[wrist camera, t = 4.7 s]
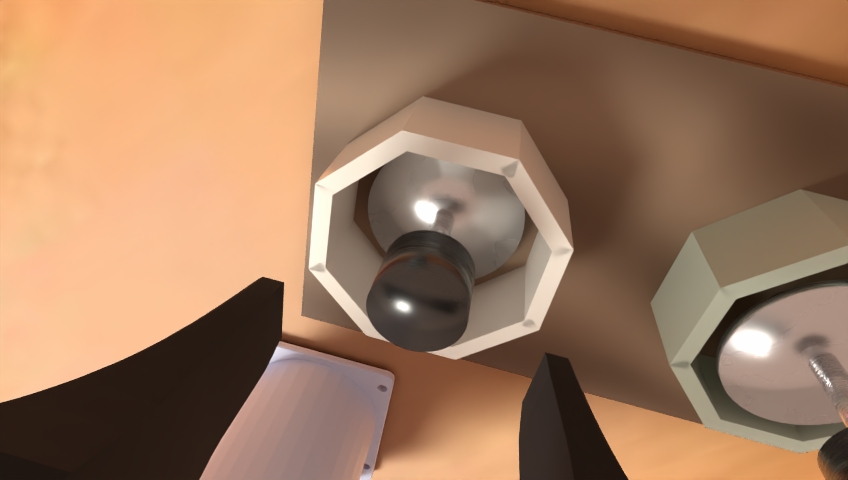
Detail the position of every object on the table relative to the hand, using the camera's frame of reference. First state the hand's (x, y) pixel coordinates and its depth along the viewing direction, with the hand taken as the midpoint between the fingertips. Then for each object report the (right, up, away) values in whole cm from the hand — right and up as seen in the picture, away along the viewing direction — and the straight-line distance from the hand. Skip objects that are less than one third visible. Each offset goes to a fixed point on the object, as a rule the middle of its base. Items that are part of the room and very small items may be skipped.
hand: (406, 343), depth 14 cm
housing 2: (+14, +1, +6) cm, 15 cm away
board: (+8, +3, +6) cm, 10 cm away
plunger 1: (+1, +4, +6) cm, 7 cm away
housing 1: (+1, +4, +7) cm, 8 cm away
